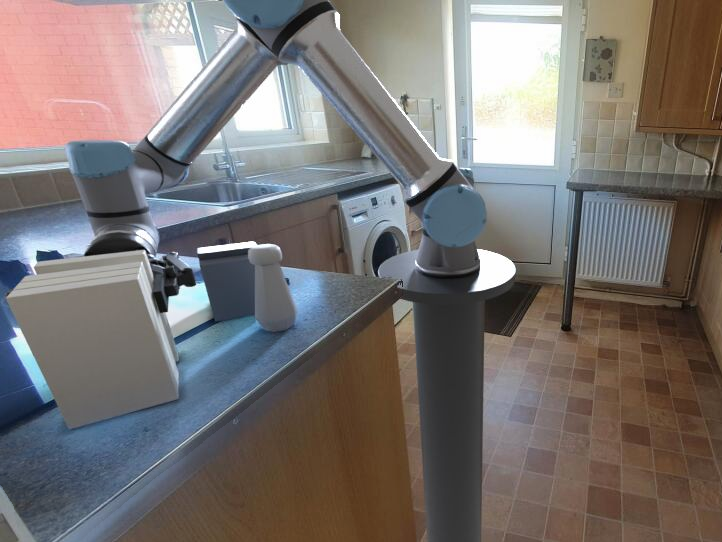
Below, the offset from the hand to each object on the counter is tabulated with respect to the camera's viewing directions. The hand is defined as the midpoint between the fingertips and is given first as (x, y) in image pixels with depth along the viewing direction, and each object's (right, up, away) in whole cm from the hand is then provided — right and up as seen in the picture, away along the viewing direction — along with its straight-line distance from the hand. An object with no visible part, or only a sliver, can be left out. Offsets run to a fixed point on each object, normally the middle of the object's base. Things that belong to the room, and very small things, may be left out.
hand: (101, 312), depth 45 cm
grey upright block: (-1, -1, +25) cm, 25 cm away
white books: (+1, -10, +2) cm, 10 cm away
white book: (-3, -8, +8) cm, 11 cm away
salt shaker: (+9, -3, +19) cm, 21 cm away
